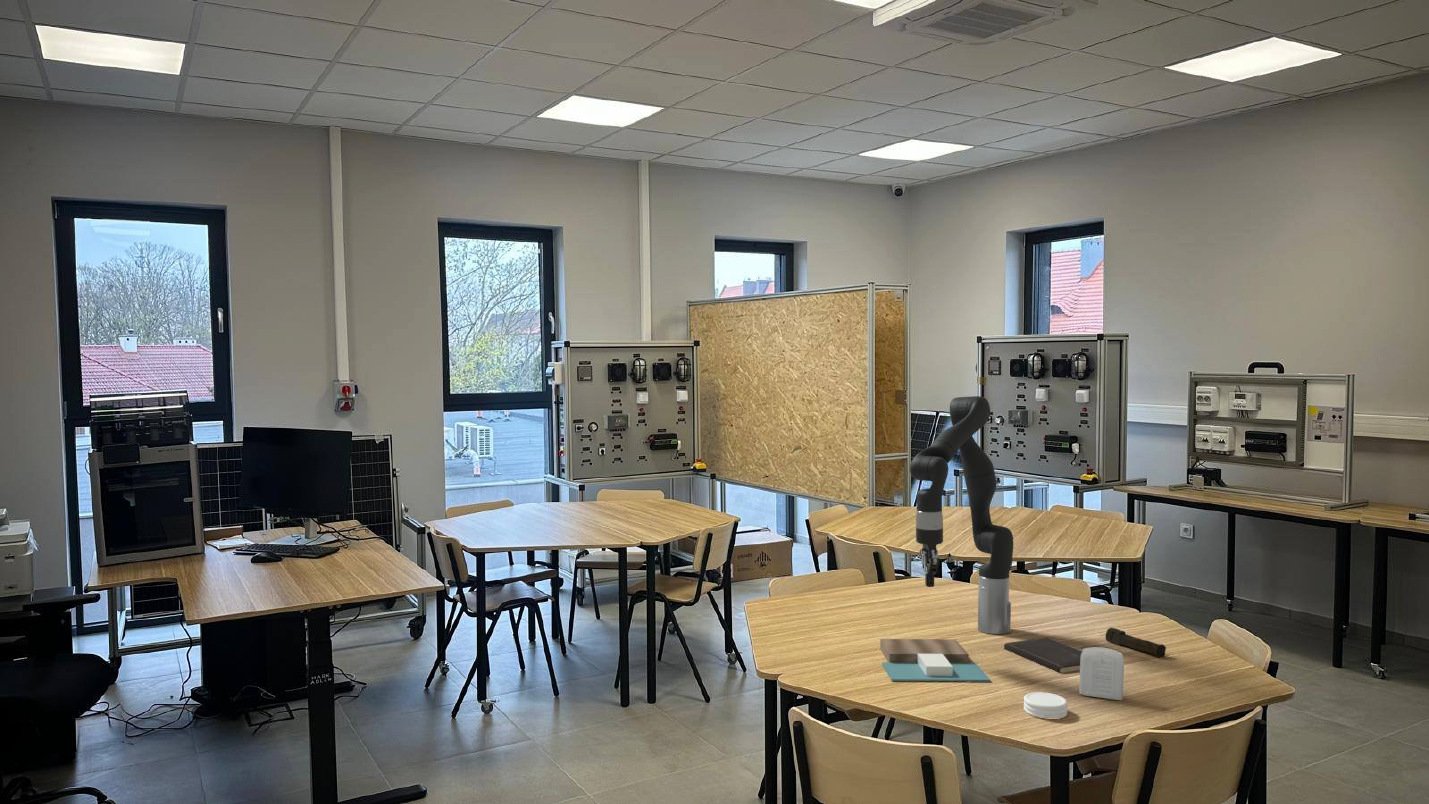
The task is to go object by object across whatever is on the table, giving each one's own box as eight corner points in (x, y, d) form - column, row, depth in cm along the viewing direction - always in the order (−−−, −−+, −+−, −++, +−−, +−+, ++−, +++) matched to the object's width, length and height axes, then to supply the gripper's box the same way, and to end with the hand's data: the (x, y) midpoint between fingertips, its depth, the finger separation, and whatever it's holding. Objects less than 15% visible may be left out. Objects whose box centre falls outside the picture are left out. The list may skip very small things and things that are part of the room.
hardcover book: (1047, 645, 280) (1047, 637, 280) (1105, 668, 259) (1105, 660, 259) (1003, 650, 275) (1003, 643, 274) (1059, 675, 253) (1059, 667, 253)
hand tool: (1166, 657, 268) (1167, 641, 268) (1157, 659, 266) (1157, 643, 266) (1112, 640, 285) (1112, 625, 285) (1102, 641, 283) (1103, 626, 283)
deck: (955, 649, 274) (955, 639, 274) (968, 664, 260) (968, 654, 260) (880, 649, 274) (880, 638, 273) (889, 664, 260) (889, 653, 260)
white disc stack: (1066, 723, 218) (1067, 708, 218) (1022, 717, 222) (1022, 702, 222) (1067, 709, 227) (1068, 694, 227) (1024, 703, 231) (1025, 689, 231)
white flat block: (942, 662, 260) (942, 653, 259) (952, 675, 249) (952, 666, 248) (917, 662, 260) (917, 653, 259) (926, 675, 249) (926, 666, 248)
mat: (975, 665, 260) (975, 662, 260) (990, 682, 246) (990, 679, 246) (882, 664, 260) (882, 662, 260) (891, 681, 246) (891, 679, 246)
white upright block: (1122, 696, 236) (1124, 648, 235) (1123, 702, 232) (1124, 652, 231) (1079, 690, 240) (1080, 643, 239) (1079, 696, 236) (1080, 648, 235)
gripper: (949, 530, 259) (949, 592, 260) (936, 521, 272) (936, 580, 273) (922, 531, 259) (922, 592, 260) (910, 522, 272) (911, 580, 273)
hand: (929, 586), depth 266 cm, fingers closed
